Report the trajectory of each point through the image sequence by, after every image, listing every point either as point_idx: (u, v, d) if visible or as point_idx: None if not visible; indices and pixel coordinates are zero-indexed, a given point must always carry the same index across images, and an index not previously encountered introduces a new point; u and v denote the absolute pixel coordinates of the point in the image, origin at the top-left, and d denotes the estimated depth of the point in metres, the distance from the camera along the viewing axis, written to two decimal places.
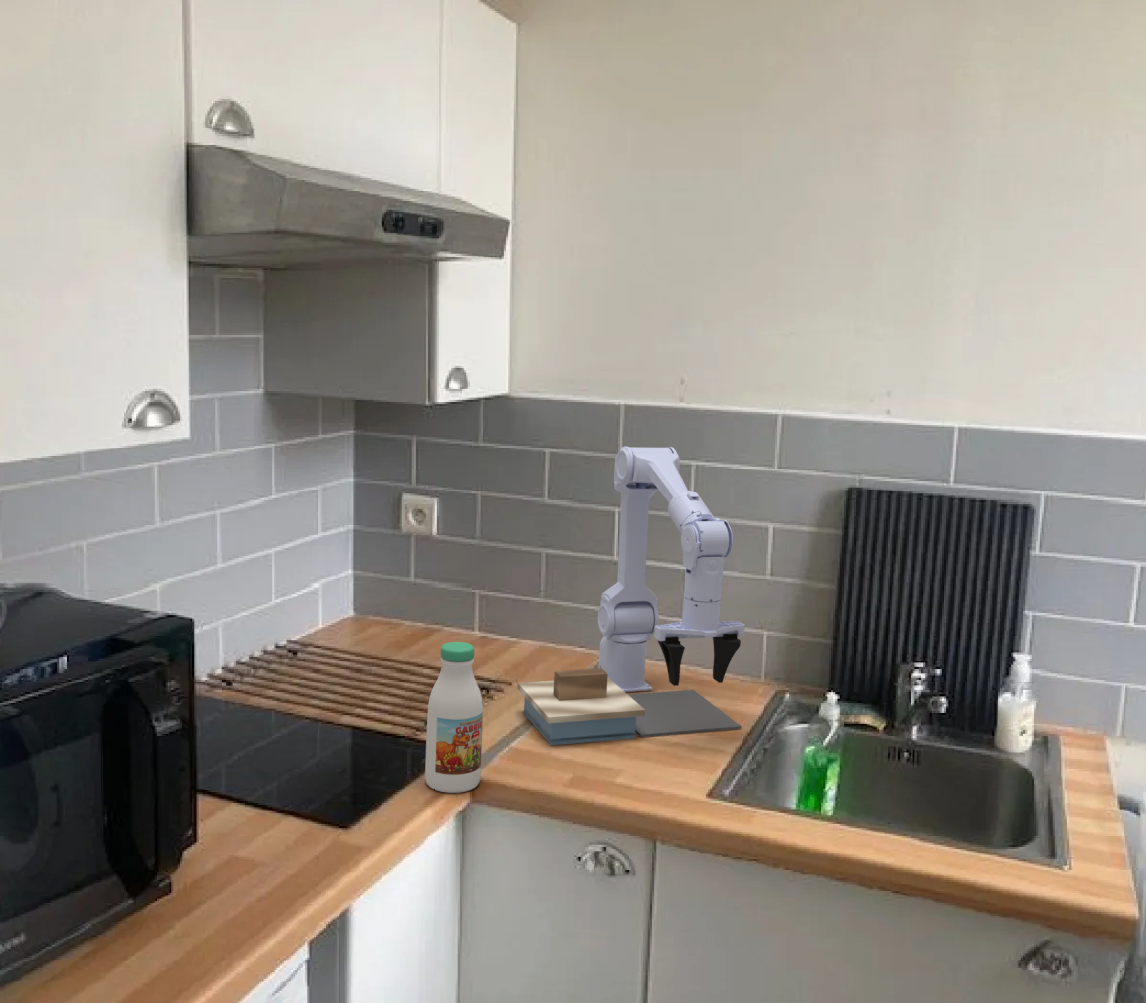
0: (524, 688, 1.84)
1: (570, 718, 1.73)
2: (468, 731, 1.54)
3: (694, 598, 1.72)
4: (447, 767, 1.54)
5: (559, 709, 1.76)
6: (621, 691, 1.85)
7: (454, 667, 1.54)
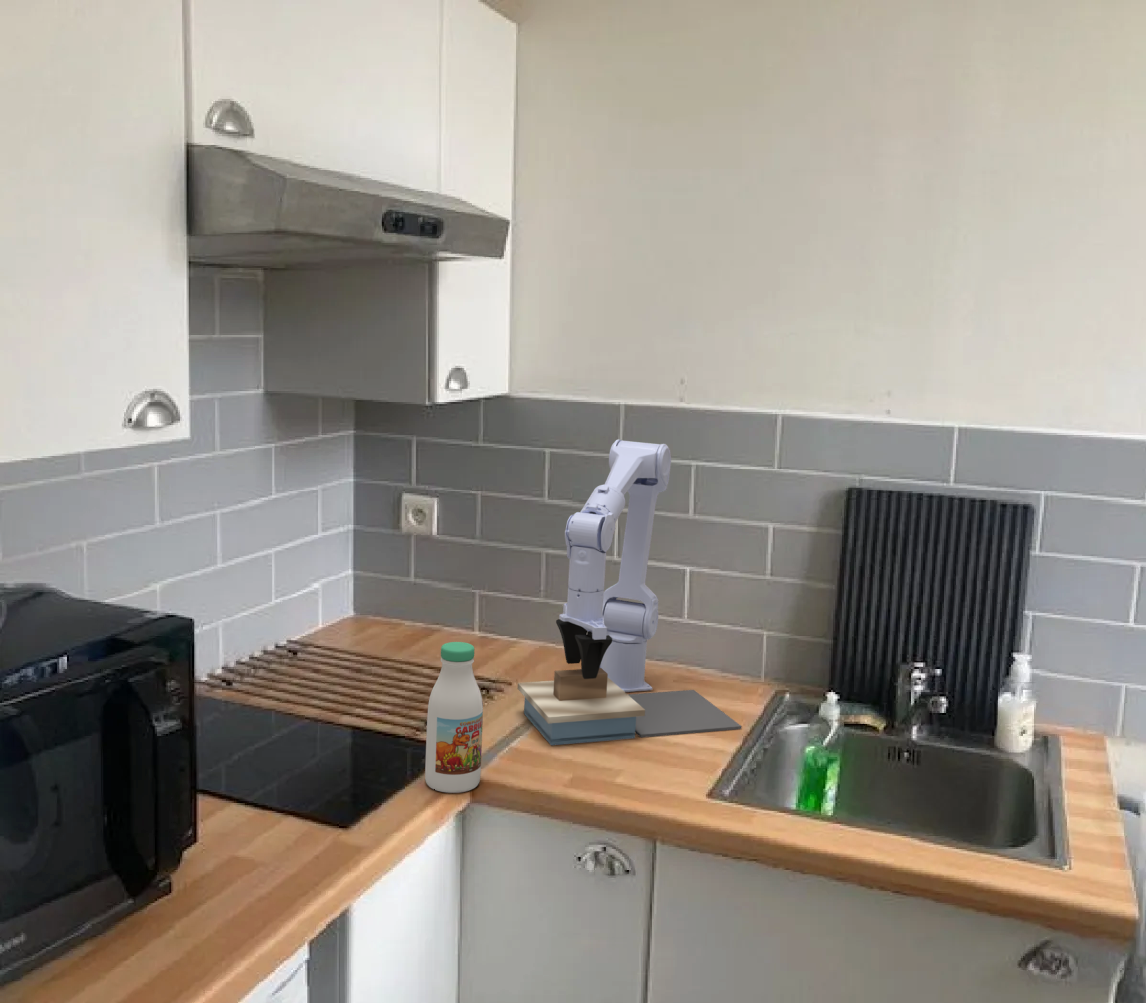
0: (524, 688, 1.84)
1: (570, 718, 1.73)
2: (468, 731, 1.54)
3: (568, 585, 1.78)
4: (447, 767, 1.54)
5: (559, 709, 1.76)
6: (621, 691, 1.85)
7: (454, 667, 1.54)
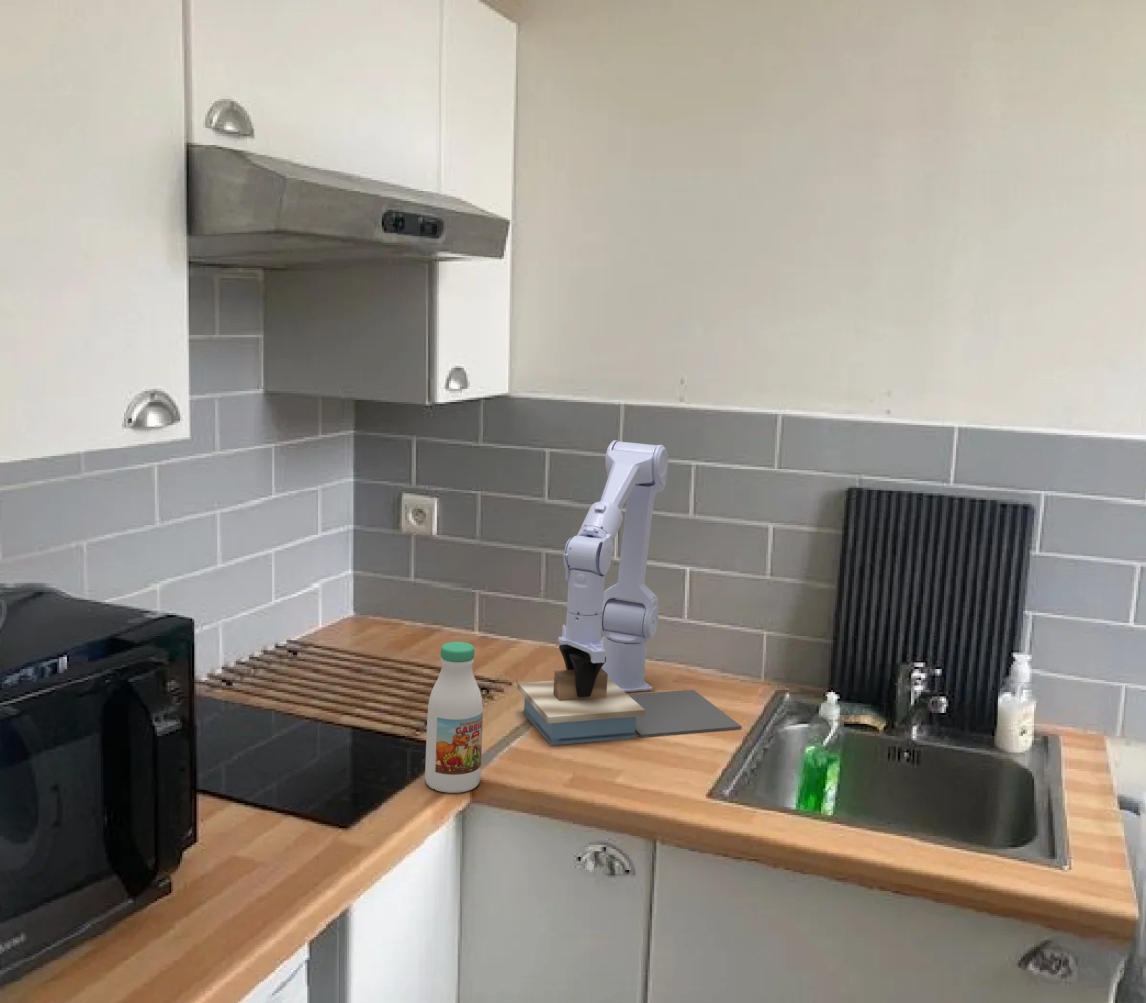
0: (524, 688, 1.84)
1: (570, 718, 1.73)
2: (468, 731, 1.54)
3: (567, 608, 1.79)
4: (447, 767, 1.54)
5: (559, 709, 1.76)
6: (621, 691, 1.85)
7: (454, 667, 1.54)
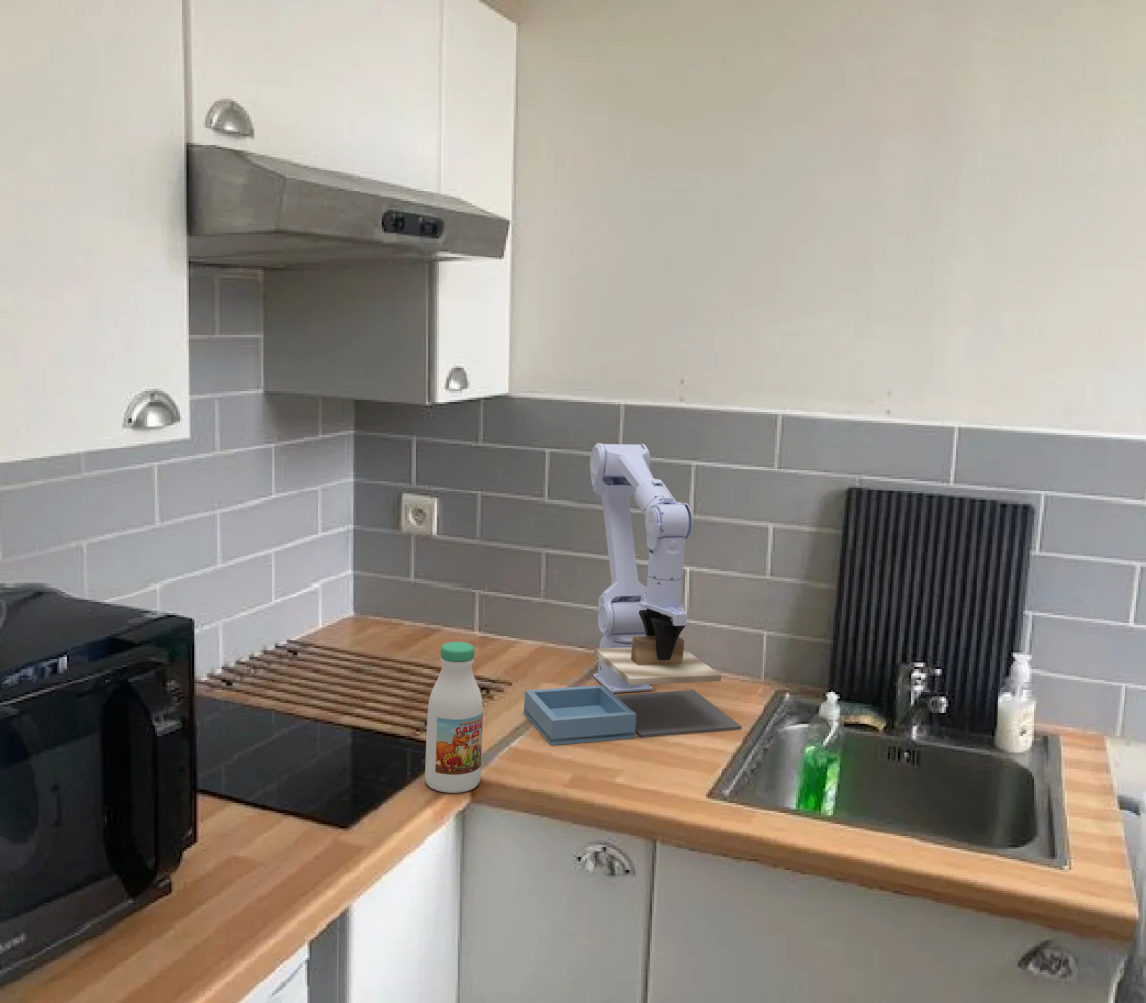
0: (602, 653, 1.90)
1: (650, 680, 1.79)
2: (468, 731, 1.54)
3: (656, 576, 1.83)
4: (447, 767, 1.54)
5: (638, 672, 1.81)
6: (695, 658, 1.91)
7: (454, 667, 1.54)
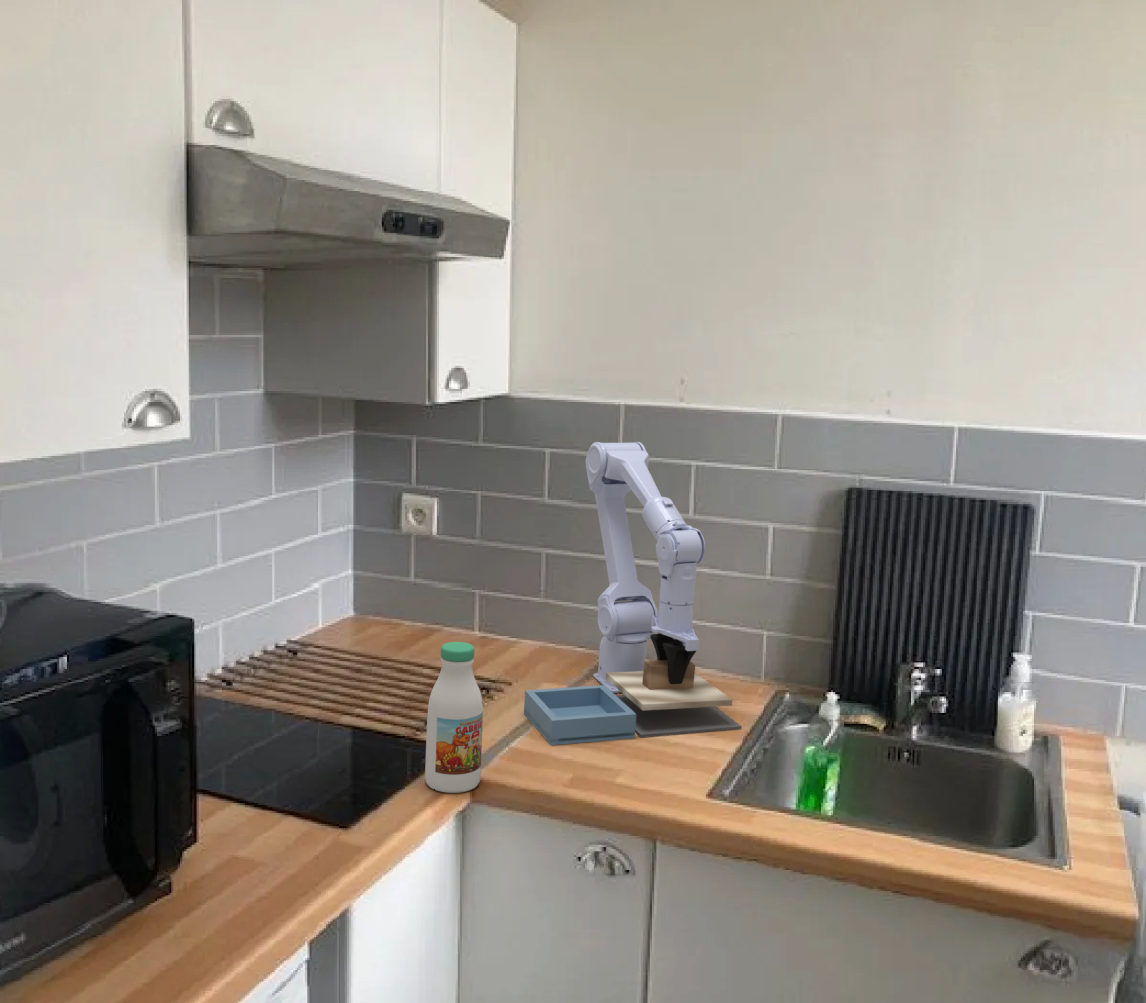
0: (613, 677, 1.92)
1: (663, 706, 1.81)
2: (468, 731, 1.54)
3: (671, 602, 1.85)
4: (447, 767, 1.54)
5: (651, 697, 1.83)
6: (706, 682, 1.93)
7: (454, 667, 1.54)
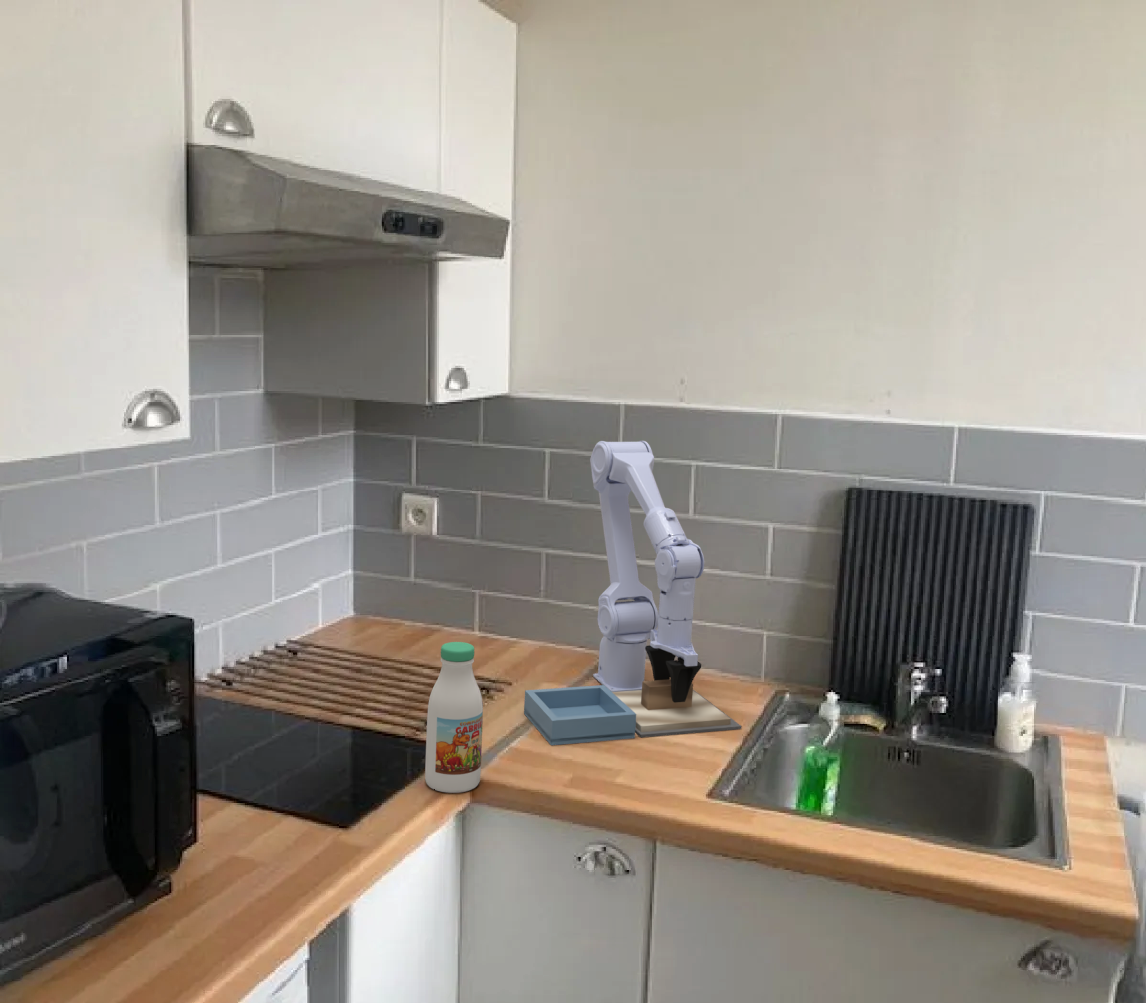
0: None
1: (661, 727, 1.81)
2: (468, 731, 1.54)
3: (670, 617, 1.85)
4: (447, 767, 1.54)
5: (649, 718, 1.84)
6: (704, 700, 1.94)
7: (454, 667, 1.54)
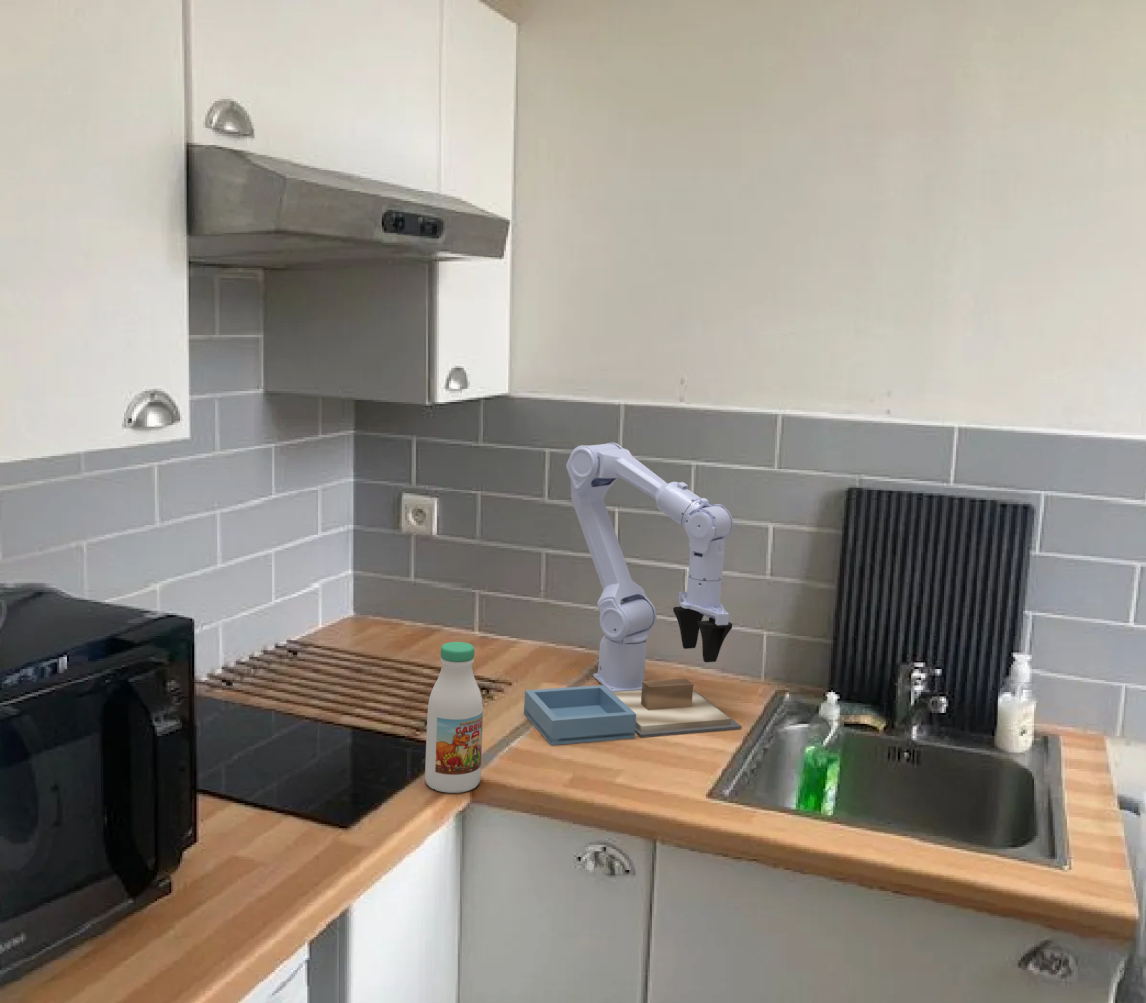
0: None
1: (661, 727, 1.81)
2: (468, 731, 1.54)
3: (707, 578, 1.88)
4: (447, 767, 1.54)
5: (649, 718, 1.84)
6: (704, 700, 1.94)
7: (454, 667, 1.54)
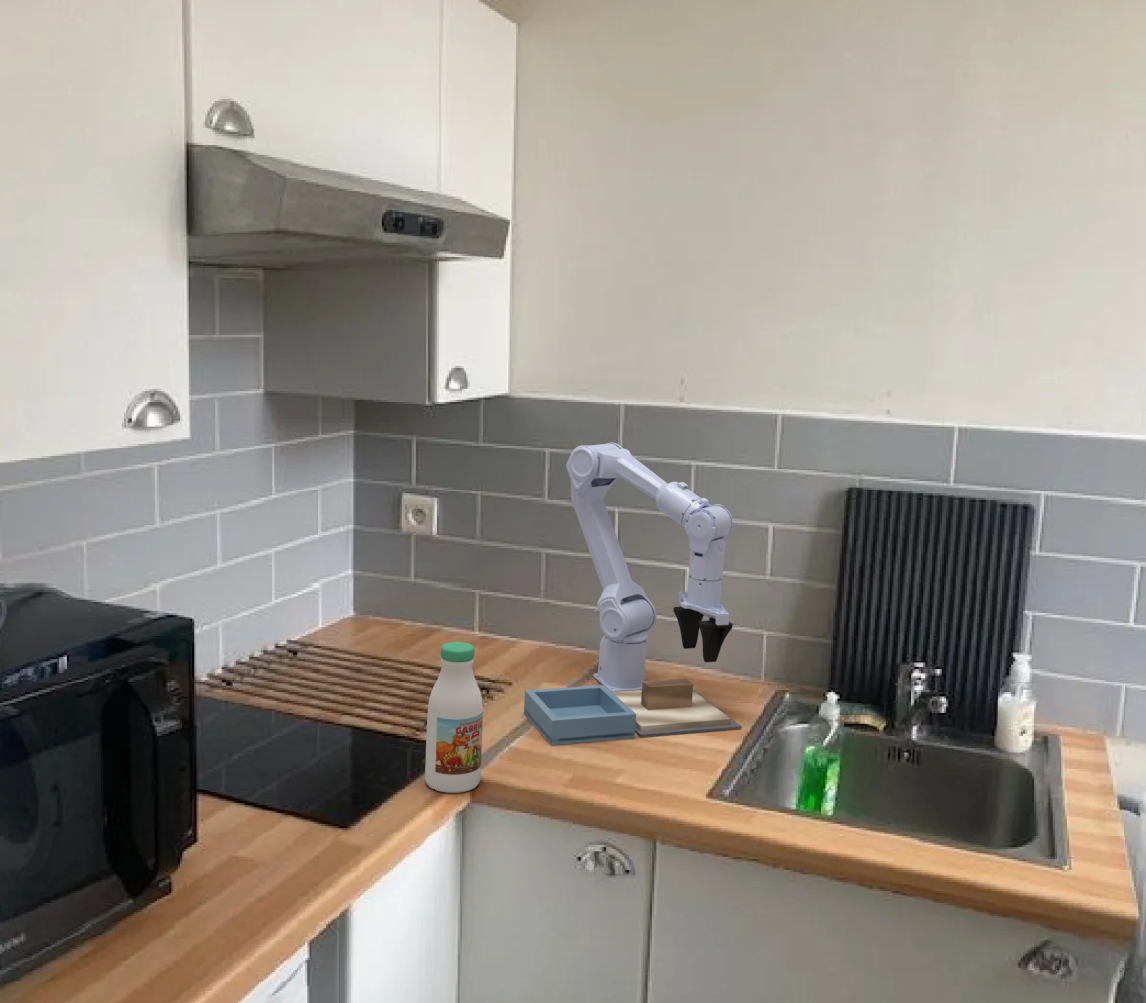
0: None
1: (661, 727, 1.81)
2: (468, 731, 1.54)
3: (707, 578, 1.88)
4: (447, 767, 1.54)
5: (649, 718, 1.84)
6: (704, 700, 1.94)
7: (454, 667, 1.54)
